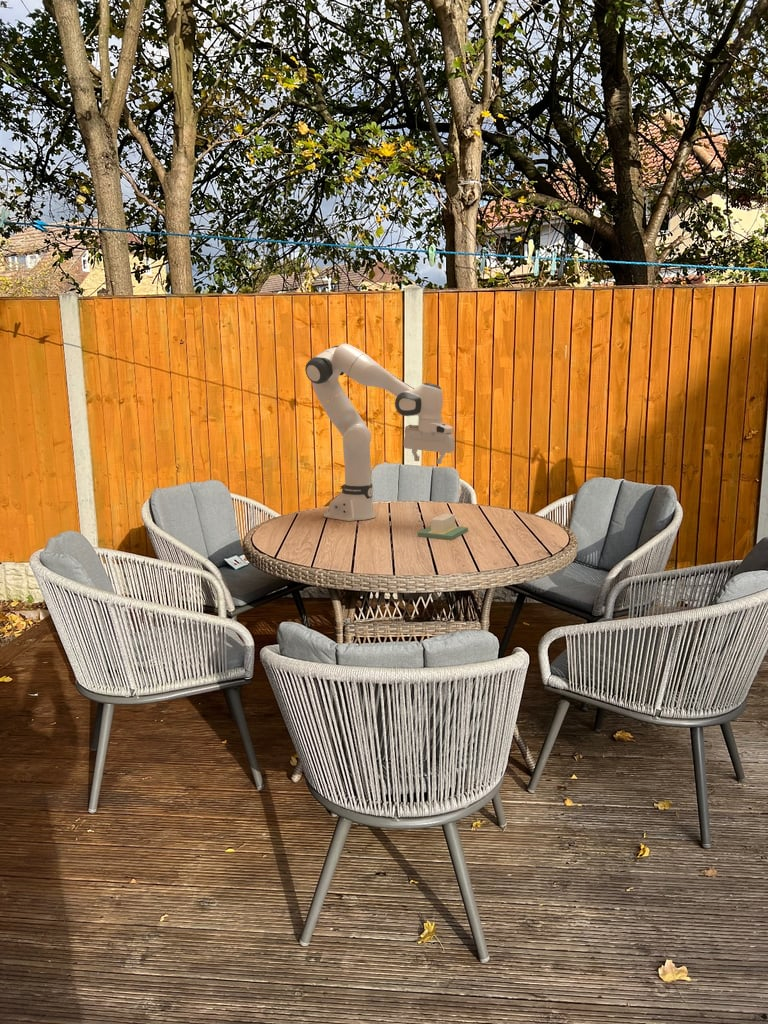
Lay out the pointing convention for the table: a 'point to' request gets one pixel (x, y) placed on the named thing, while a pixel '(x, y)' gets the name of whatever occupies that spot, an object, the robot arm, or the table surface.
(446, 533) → the header board
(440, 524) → the housing
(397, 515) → the table surface
